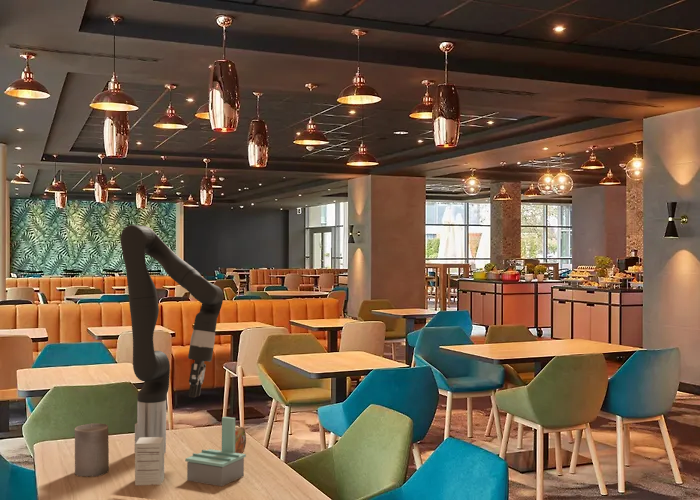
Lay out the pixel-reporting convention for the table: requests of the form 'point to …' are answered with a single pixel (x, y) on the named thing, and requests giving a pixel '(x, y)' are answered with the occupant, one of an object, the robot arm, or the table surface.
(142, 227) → the robot arm
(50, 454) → the table surface
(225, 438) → the lid
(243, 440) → the tin
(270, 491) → the table surface
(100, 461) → the pillar candle
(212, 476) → the tub
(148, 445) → the supplement box
